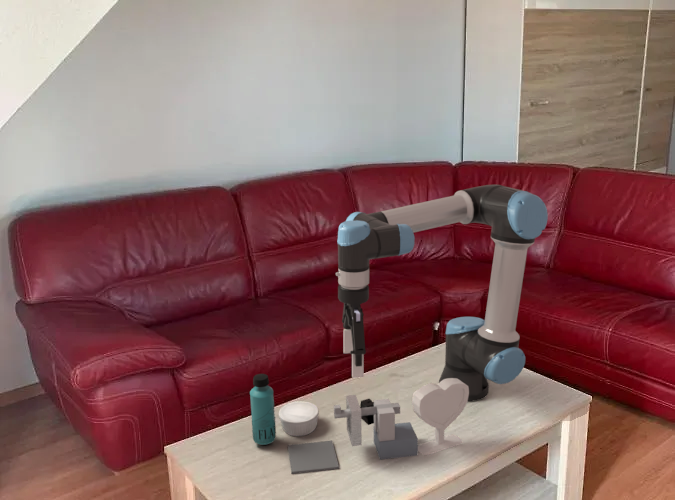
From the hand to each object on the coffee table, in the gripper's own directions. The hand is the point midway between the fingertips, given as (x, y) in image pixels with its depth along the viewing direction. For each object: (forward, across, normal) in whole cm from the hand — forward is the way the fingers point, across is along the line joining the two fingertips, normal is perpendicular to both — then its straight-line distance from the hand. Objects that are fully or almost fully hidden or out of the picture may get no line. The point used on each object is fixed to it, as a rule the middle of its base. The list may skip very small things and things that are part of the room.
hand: (353, 364), depth 169 cm
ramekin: (+26, -14, -13) cm, 32 cm away
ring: (+21, 0, 0) cm, 21 cm away
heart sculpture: (+25, 0, +23) cm, 34 cm away
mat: (+26, 0, -11) cm, 28 cm away
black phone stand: (+26, -18, +8) cm, 32 cm away
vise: (+25, 0, +6) cm, 26 cm away
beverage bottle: (+26, -8, -23) cm, 36 cm away
